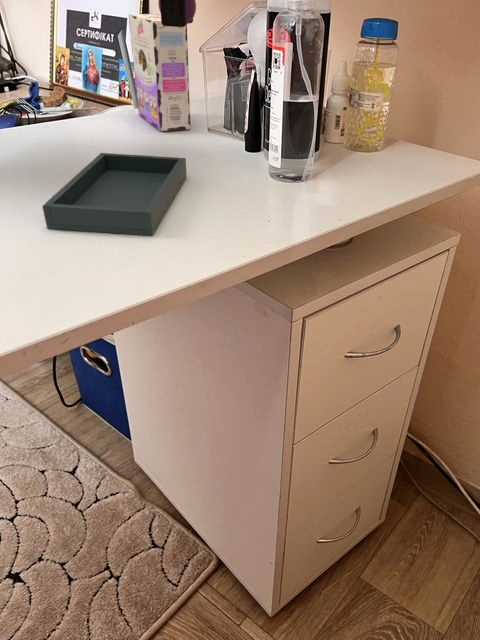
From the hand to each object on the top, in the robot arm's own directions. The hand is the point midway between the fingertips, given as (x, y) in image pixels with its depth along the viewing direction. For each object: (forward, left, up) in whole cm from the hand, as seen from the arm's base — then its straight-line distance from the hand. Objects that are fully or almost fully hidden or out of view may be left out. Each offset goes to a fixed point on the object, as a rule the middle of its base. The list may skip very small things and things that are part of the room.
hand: (177, 22), depth 73 cm
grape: (0, 0, 0) cm, 0 cm away
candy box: (-7, +17, -17) cm, 25 cm away
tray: (-3, -22, -17) cm, 28 cm away
